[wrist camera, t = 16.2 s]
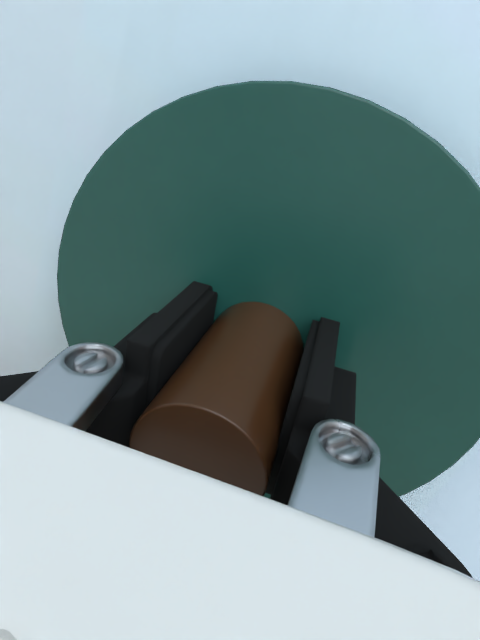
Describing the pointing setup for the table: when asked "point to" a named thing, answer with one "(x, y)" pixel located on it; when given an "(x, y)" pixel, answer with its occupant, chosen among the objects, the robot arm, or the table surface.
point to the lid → (286, 272)
